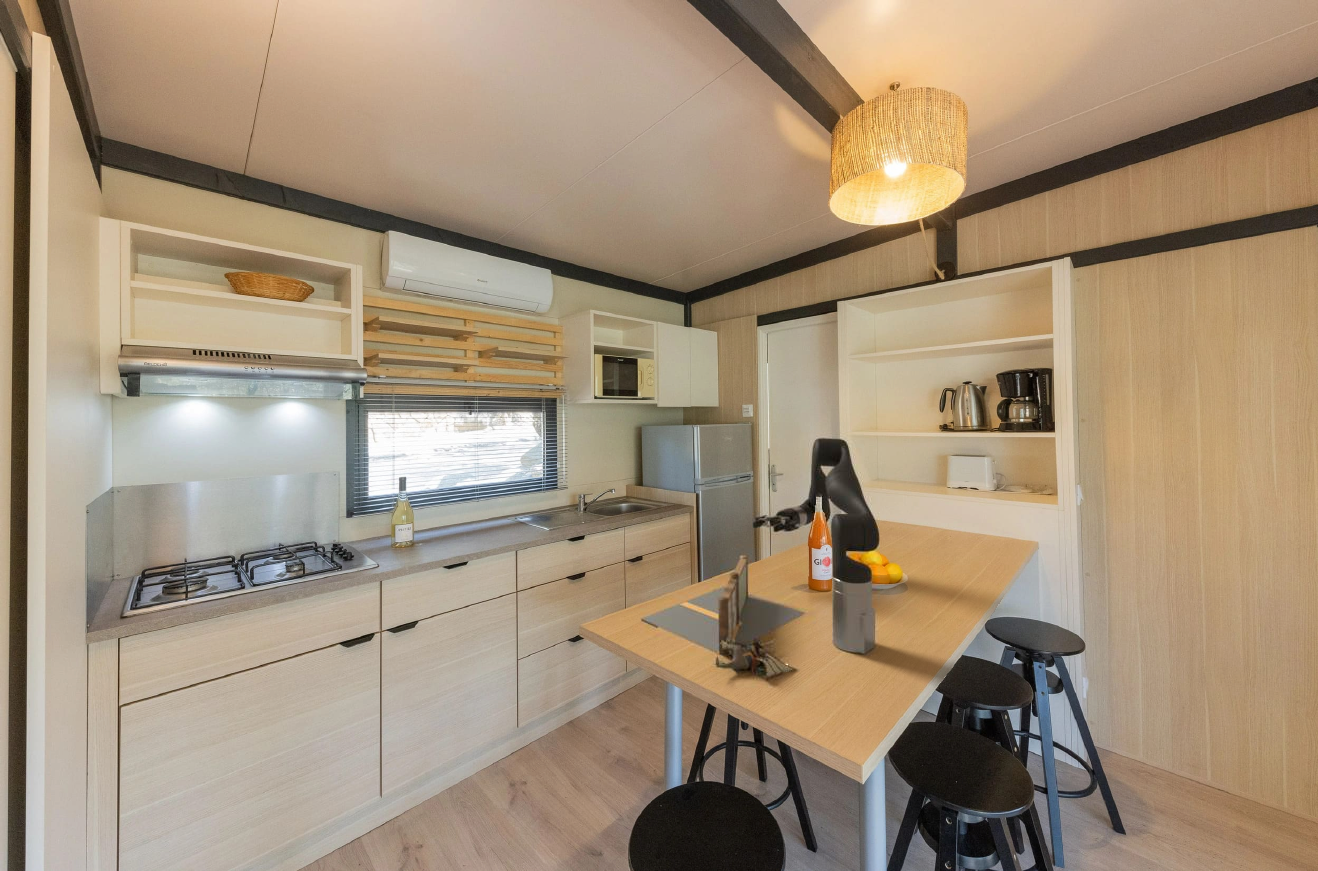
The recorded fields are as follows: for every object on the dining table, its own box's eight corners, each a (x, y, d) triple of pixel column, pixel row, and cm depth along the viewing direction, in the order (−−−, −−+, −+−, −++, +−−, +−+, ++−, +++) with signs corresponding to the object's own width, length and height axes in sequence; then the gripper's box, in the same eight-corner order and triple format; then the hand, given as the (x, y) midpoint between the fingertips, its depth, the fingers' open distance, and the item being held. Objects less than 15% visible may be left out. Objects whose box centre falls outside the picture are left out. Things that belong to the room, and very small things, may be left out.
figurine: (743, 619, 124) (808, 642, 114) (741, 641, 125) (805, 666, 115) (704, 651, 108) (776, 681, 98) (702, 676, 108) (773, 709, 99)
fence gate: (739, 620, 136) (739, 574, 135) (731, 619, 137) (730, 574, 136) (748, 595, 155) (748, 555, 154) (741, 594, 155) (740, 554, 155)
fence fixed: (731, 621, 136) (730, 572, 136) (739, 621, 136) (739, 572, 135) (718, 654, 117) (717, 597, 117) (727, 655, 117) (727, 598, 116)
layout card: (807, 614, 141) (807, 612, 141) (725, 659, 116) (725, 656, 116) (724, 587, 164) (724, 586, 164) (640, 620, 139) (640, 618, 139)
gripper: (773, 505, 174) (745, 512, 162) (809, 510, 163) (782, 518, 152) (773, 526, 174) (746, 534, 163) (810, 532, 163) (783, 542, 152)
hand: (764, 526), depth 157 cm, fingers open, 7 cm apart
